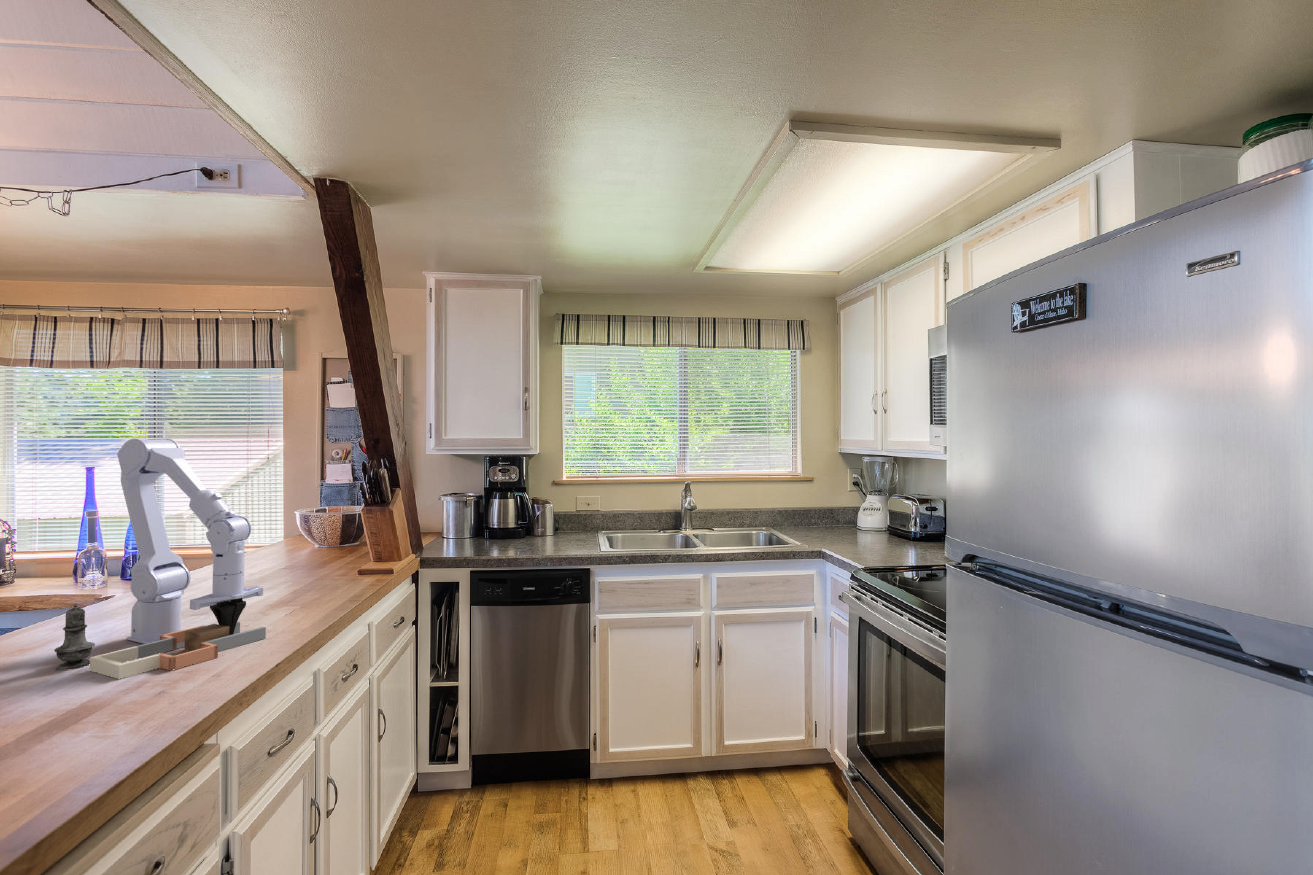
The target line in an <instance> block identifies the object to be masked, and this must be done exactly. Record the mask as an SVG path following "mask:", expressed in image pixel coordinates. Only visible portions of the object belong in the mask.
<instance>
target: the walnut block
mask: <svg viewBox="0 0 1313 875" xmlns="http://www.w3.org/2000/svg"><path fill="white" fill-rule="evenodd" d="M225 636H229V627H228V626H223V625H219V624H217V623H212V624H209V625H203V627H199V628H195V629H191V630H187V631H185V647H184V651H186V650H188V651H187V652H190V651H194V650H197V649H200V643H202V642H206V641H210V640H214V639H218V638H221V637H225Z"/></svg>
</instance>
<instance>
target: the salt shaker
mask: <svg viewBox="0 0 1313 875" xmlns="http://www.w3.org/2000/svg"><path fill="white" fill-rule="evenodd" d="M78 606H79V605H78V604H77V603H74V605H73V607H72V608H71V609H69V610H67V611H66V612H65V626H64V627H63V628H62V630H63V632H64V640H63V643H62V645H60V646H58V647H56V648H55V649H54V651H53V652H54V653H56V654H55V655H56V657H57V659H58V660H59V661H61V662H62V663H60V664H59V665H57V666H56V667H55V670H57V669H59V670H58V671H69V670H68V669H72V670H77V669H81V668H82V669H83V668H85V667H84V666H86V667H88V666H90V665H89V664H90V659H88V658H87V657H90V655H91V653H92V651H93V647H95V645H96V644H95V642H93V641H92V642H91V641H87V638H86V628H87V627H88V625H87V624H86V611H85V609H84V608H81V607H78ZM86 658H87V659H86Z"/></svg>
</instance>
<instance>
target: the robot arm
mask: <svg viewBox="0 0 1313 875" xmlns="http://www.w3.org/2000/svg"><path fill="white" fill-rule="evenodd" d="M116 453H117V454H116V456H117V459H118V464H119V467H120V472H121V473H120V485H121V487H122V493H123V496H124V500H125V505H126V508H127V511H128V516H129V520H130V524H131V528H132V532H133V536H134V539H135V544H136V547H137V548H136V549H137V552H138V555H139V559H138V561H137V562H135V564H134V565H133V566H132V568H130V570H129V571H130V574H131V575H130V576H131V581H130V592H131V594H132V595H133V597H135V598H136V599H137V600H136V602H135V603H134V605H133V606H132V608H131V618H130V619H131V629H130V630H131V632H130V633H131V634H130V636H126V637H125V638H126V640H128V641H131V642H134V643H135V642H136V643H139V644H142V645H143V644H147V643H151V642H155V641H159V640H160V635H164V634H168V633H173V632H177V631H181V628H182V627H181V626H182V623H181V622H182V595H184V594H185V590H186V589H188V587H189V585H190V583H191V573H190V571H189V569H188V568H187V567H186V565H185V563H184V561H183V558H182V556H180V555H178V554H177V553H175V552H173V551H172V550H171V546H170V542H169V540H168V536H167V530H166V527H165V524H164V519H163V516H162V511H161V507H160V504H159V499H158V496H157V491H156V488H155V483H156V481H157V480H158V478H160V477H161V476H162V475H164V474H165V475H167V477H169V479H170V480H172V481H173V483H174V484H175V485H177V487H178V488H179V489H180V490H182V492H183V493H184V494H185V495H186V496H187V498H189V499H190V500H189V503H188V507H189V509H190V510H191V511H192V513H193V514H194V515H195V516H196V517H197V518H198V519H199V521H200V522H201V523H202V524H203V526H204V527H205V528H206V529H207V530H208V531H206V532H205V535H206V538H207V541H208V542H209V544H210V551H211V552H212V589H211V590H212V592H211V593H209V594H207V595H203V596H200V597H196V598H192V599H189V609H190V610H194V611H197V610H201V609H202V608H207V607H209V609H210V610H211V612H212V614H213V615H214V616H215V619H216V621H217V623H218V625H223V626H228V627H229V635H233V634H234V630H235V627H236V624H237V622H239V619H240V616H241V614H242V613H243V611H244V609H245V608H246V606H247V601H246V600H244V599H249V598H254V597H262V596H264V587H263V586H259V585H257V586H251V587H245V585H244V584H245V546H246V545H245V542H246V540H248V539H249V537H250V536H251V533H252V526H251V523H250V521H249V519H248V518H247V517H246V516H243V515H239V514H238V513H236V512H235V511H234V510H233V509H231V507H229V505H228V504H227V503H226V502H225V501H224V500H223V496H222V494H221V493H220V492H217V491H216V490H211V489H210V490H209V489H207V488H206V487H205V485H204V484H203V483H202V481H201V480H200V479H199V477H198V476H197V474H196V473H195V471H194V470H193V468H192V467H191V466H190V464H189V463H188V461H187V459H185V457H186V456H185V455H186V451H185V450H184V449H183V448H182V447H181V446H180V445H179V443H178V442H177V441H176V440H174V439H171V438H164V439H151V438H150V439H146V438H145V439H144V438H143V439H140V438H130V439H128V440H126V441H125V442H124V443H123V445H121V447H120V449H119V450H118V452H116Z"/></svg>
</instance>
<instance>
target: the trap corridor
mask: <svg viewBox="0 0 1313 875" xmlns="http://www.w3.org/2000/svg"><path fill="white" fill-rule="evenodd" d="M203 626H204V625H203V624H202V625H198V626H194V627H189V628H186V629H182V630H181V631H177V632H173V633H168V634H164V635H160V640H159V641H155V642H151V643H147V644H143V643H142V644H139V645H135V646H131V647H127V648H123V649H119V650H115V651H110V652H107V653H103V654H98V655H95V656H89V660H90V665H89V672H94V673H96V672H97V674H100V675H103V676H106V675H107V676H106V677H109V676H110V678H113V677H115V678H114V679H116V678H117V679H116V680H121V679H120V678H122V679H124V678H123V677H126V678H128V676H129V677H132V676H131V675H133V676H136V675H140V674H144V673H147V672H151V671H153V670H152V669H155V670H158V669H162V668H163V670H165V669H168V670H167V671H169V670H173V669H176V670H179V669H178V668H180V669H182V668H181V667H183V666H187V667H190V666H193V665H192V664H194V665H197V664H201V663H203V661H204V662H207V661H211V660H214V659H213V658H215V659H218V658H219V652H222V651H226V650H230V649H232V648H233V649H234V648H237V647H240V646H243V645H244V646H245V645H247V644H251V643H255V642H258V641H262V640H265V639H267V635H266V634H267V632H266V630H267V628H266V626H259V627H256V628H252V629H248V630H245V631H241V621H237V624H236V627H235V630H234V634H233V635H229V636H225V637H221V638H218V639H214V640H210V641H206V642H202V643H200V649H197V650H194V651H186V652H184V653H179V654H176V655H171V654H167V653H168V652H167V651H169V652H171V651H170V650H173V651H176V649H177V650H180V649H179V648H181V649H183V648H184V649H185V631H187V630H191V629H195V628H199V627H203ZM164 652H165V653H164ZM159 653H160V654H159ZM139 658H141V659H139ZM135 659H137V660H135ZM126 661H129V662H126ZM124 662H125V663H124ZM200 662H201V663H200ZM189 665H190V666H189ZM157 668H158V669H157ZM183 668H184V667H183ZM150 670H151V671H150ZM173 671H174V670H173ZM143 672H144V673H143Z"/></svg>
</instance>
